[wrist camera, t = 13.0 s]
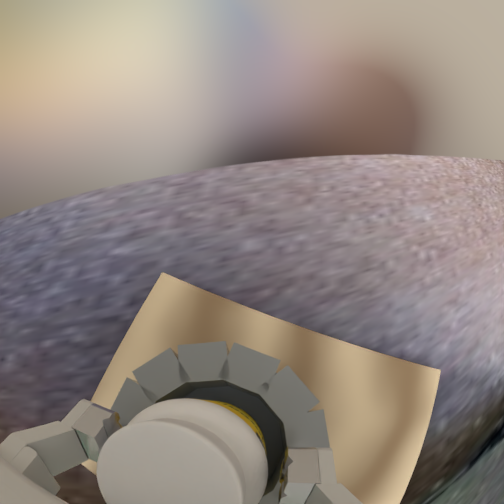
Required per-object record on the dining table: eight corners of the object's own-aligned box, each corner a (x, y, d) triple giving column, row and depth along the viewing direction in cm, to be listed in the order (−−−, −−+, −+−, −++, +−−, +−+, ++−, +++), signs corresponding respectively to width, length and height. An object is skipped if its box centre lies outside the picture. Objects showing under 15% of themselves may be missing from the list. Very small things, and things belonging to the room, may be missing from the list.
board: (75, 451, 14) (67, 452, 13) (166, 279, 22) (162, 272, 21) (358, 560, 9) (363, 566, 8) (432, 373, 17) (440, 370, 16)
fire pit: (112, 466, 13) (81, 472, 9) (179, 332, 18) (163, 310, 15) (270, 538, 10) (274, 564, 7) (337, 393, 16) (358, 385, 13)
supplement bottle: (283, 459, 13) (312, 527, 4) (200, 496, 12) (137, 576, 3) (235, 384, 15) (200, 360, 7) (155, 421, 14) (47, 427, 5)
